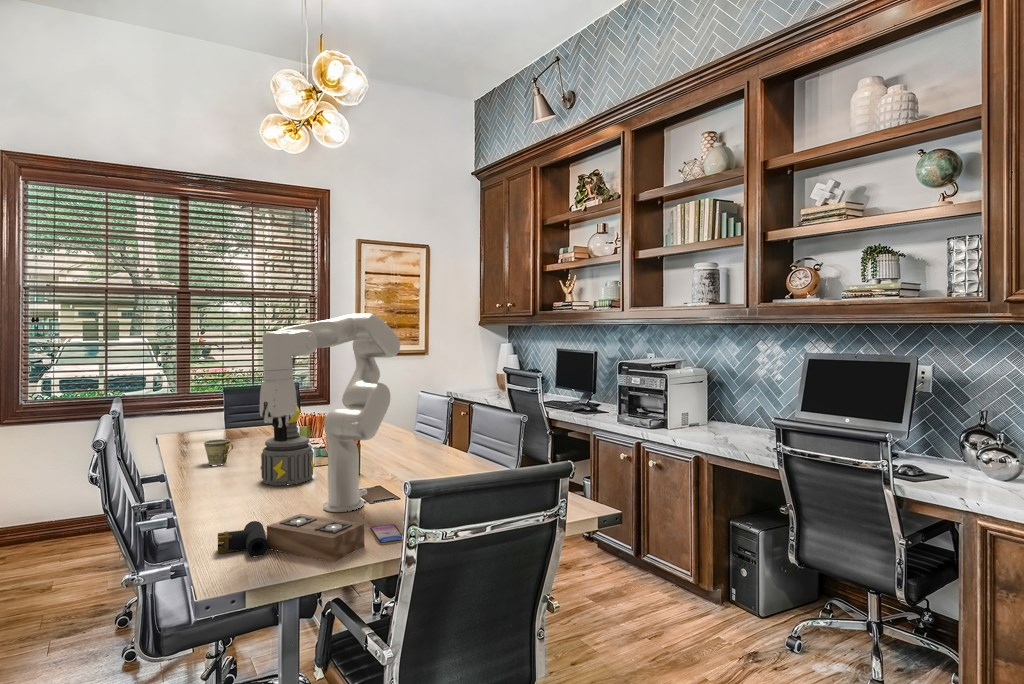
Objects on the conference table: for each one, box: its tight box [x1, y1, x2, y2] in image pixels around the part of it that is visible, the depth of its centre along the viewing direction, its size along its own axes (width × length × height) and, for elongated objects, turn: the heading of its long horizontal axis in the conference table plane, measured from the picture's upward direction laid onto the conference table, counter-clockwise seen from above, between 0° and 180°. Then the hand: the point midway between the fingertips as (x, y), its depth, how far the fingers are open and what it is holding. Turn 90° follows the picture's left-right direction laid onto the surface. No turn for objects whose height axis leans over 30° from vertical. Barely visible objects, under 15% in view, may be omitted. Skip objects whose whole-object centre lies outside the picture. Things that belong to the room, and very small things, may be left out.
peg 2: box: [326, 524, 342, 531], centre depth 158 cm, size 4×4×6 cm
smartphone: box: [369, 524, 403, 546], centre depth 170 cm, size 8×15×1 cm, turn 24°
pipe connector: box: [217, 520, 269, 558], centre depth 160 cm, size 12×5×15 cm
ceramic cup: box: [203, 438, 234, 466], centre depth 259 cm, size 13×10×10 cm
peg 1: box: [290, 518, 306, 525], centre depth 163 cm, size 4×4×6 cm
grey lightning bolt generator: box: [260, 405, 315, 486], centre depth 232 cm, size 19×19×30 cm
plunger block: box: [266, 513, 365, 563], centre depth 160 cm, size 12×22×6 cm, turn 65°
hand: (280, 440), depth 172 cm, fingers closed
